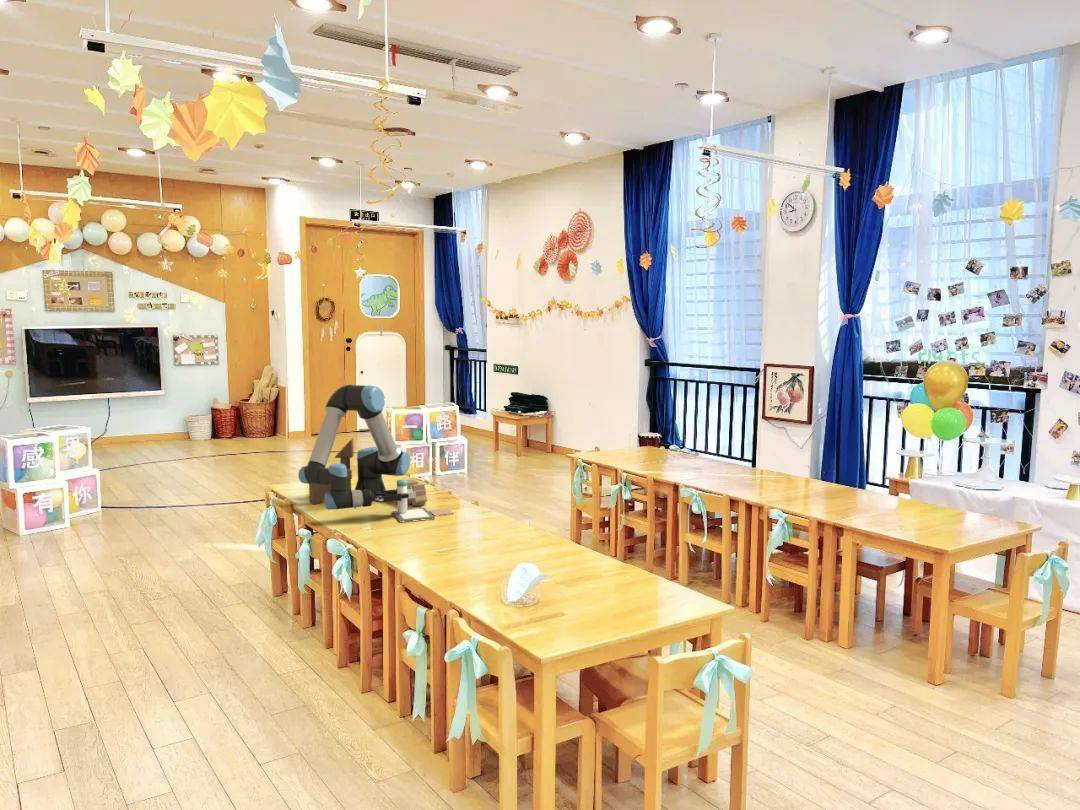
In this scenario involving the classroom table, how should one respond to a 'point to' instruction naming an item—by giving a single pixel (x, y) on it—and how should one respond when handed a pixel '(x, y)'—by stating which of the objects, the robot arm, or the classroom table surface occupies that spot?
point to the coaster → (441, 512)
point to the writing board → (413, 514)
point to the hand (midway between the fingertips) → (414, 493)
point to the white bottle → (400, 489)
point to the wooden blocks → (319, 490)
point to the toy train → (417, 493)
